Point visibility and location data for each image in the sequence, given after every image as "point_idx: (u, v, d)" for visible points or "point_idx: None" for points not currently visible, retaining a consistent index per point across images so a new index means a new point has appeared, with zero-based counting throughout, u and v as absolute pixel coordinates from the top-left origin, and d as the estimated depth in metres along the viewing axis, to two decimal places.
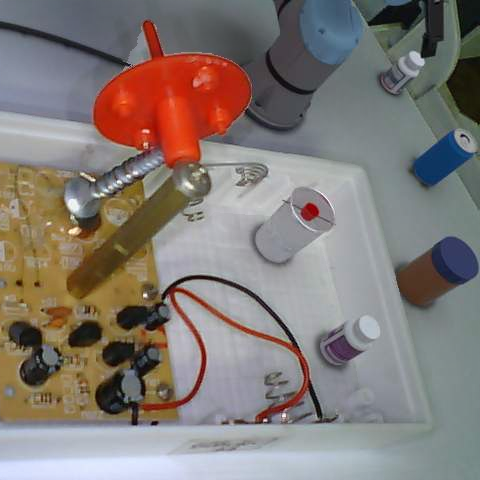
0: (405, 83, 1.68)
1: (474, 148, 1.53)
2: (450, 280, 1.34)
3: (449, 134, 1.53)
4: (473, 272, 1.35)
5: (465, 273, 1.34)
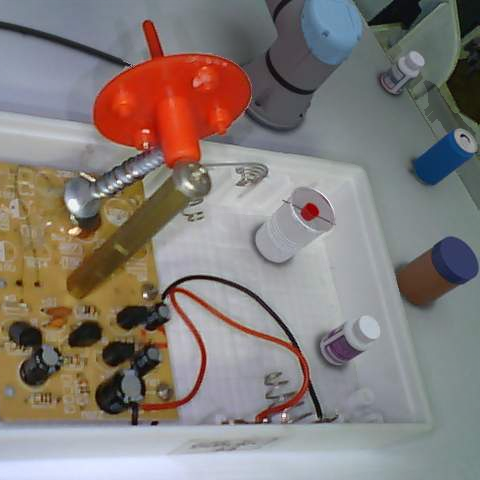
0: (405, 83, 1.68)
1: (474, 148, 1.53)
2: (450, 280, 1.34)
3: (449, 134, 1.53)
4: (473, 272, 1.35)
5: (465, 273, 1.34)
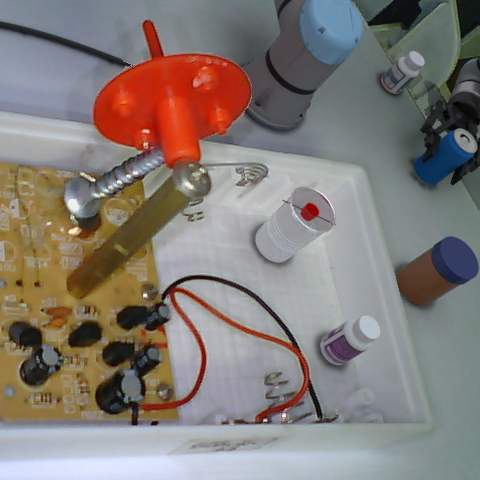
0: (405, 83, 1.68)
1: (474, 148, 1.53)
2: (450, 280, 1.34)
3: (449, 134, 1.53)
4: (473, 272, 1.35)
5: (465, 273, 1.34)
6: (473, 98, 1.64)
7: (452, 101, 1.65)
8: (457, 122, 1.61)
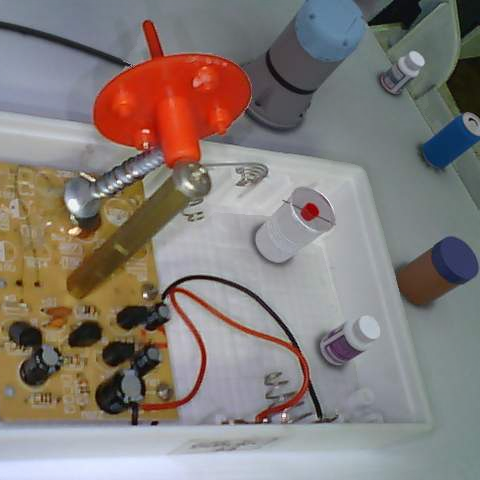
0: (405, 83, 1.68)
1: None
2: (450, 280, 1.34)
3: (458, 118, 1.57)
4: (473, 272, 1.35)
5: (465, 273, 1.34)
6: None
7: None
8: None
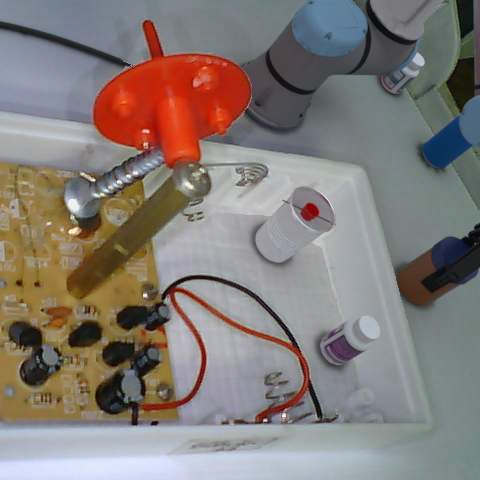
0: (405, 83, 1.68)
1: None
2: None
3: (458, 118, 1.57)
4: (473, 272, 1.35)
5: None
6: None
7: None
8: None
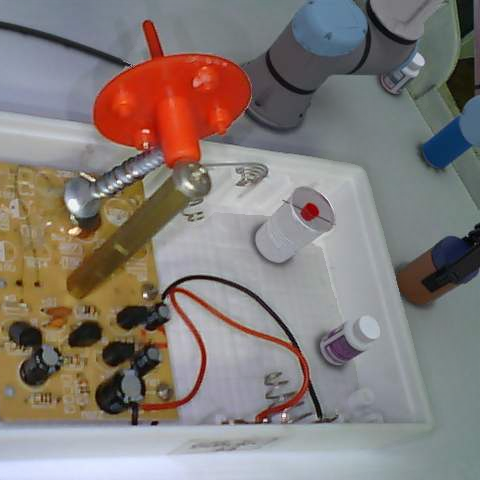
0: (405, 83, 1.68)
1: None
2: None
3: (458, 118, 1.57)
4: (458, 240, 1.37)
5: (467, 248, 1.37)
6: None
7: None
8: None
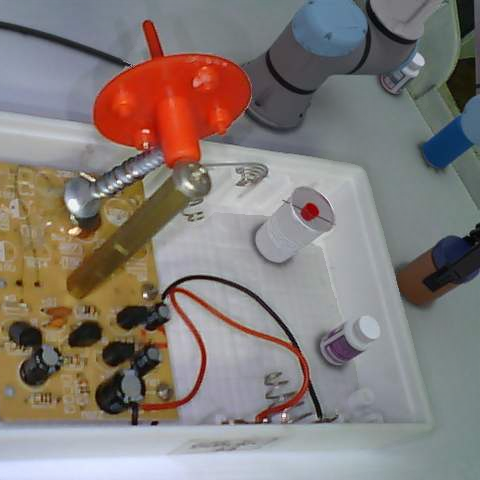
0: (405, 83, 1.68)
1: None
2: (435, 245, 1.36)
3: (458, 118, 1.57)
4: (450, 261, 1.33)
5: (447, 250, 1.34)
6: None
7: None
8: None
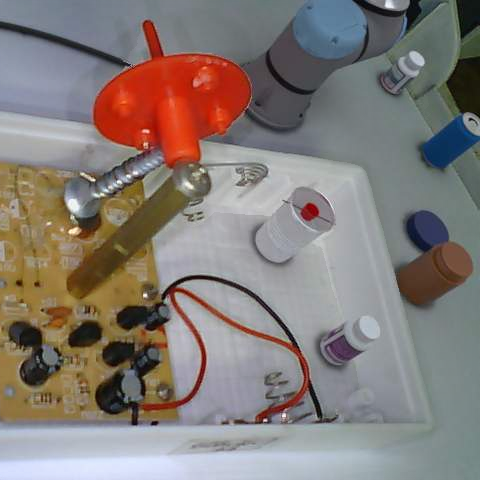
0: (405, 83, 1.68)
1: None
2: None
3: (458, 118, 1.57)
4: (442, 224, 1.52)
5: (444, 233, 1.51)
6: None
7: None
8: None
